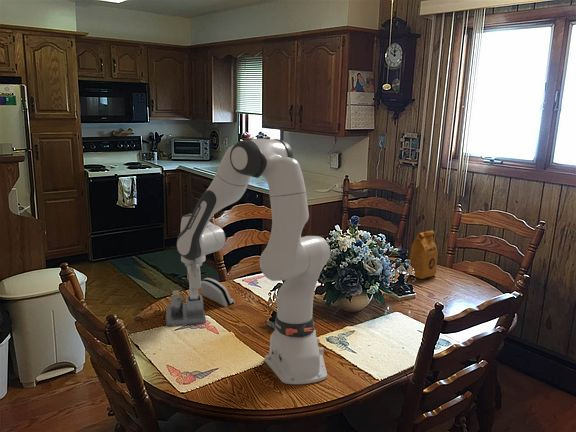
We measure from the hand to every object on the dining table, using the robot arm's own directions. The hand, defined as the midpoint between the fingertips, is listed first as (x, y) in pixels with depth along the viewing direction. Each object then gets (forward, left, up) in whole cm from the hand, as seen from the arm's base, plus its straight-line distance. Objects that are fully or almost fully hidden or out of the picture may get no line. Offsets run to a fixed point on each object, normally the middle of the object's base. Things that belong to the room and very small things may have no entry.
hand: (194, 291), depth 183 cm
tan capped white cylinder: (0, 0, -4) cm, 4 cm away
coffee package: (+23, -109, -10) cm, 111 cm away
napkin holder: (+14, -9, -10) cm, 19 cm away
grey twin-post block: (+1, +4, -10) cm, 10 cm away
